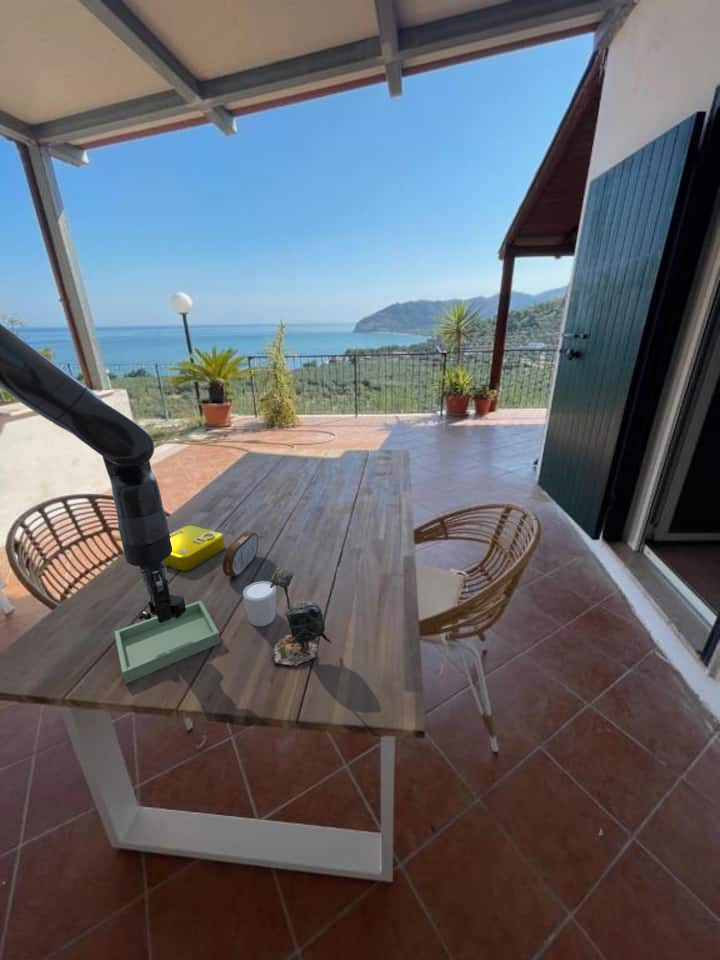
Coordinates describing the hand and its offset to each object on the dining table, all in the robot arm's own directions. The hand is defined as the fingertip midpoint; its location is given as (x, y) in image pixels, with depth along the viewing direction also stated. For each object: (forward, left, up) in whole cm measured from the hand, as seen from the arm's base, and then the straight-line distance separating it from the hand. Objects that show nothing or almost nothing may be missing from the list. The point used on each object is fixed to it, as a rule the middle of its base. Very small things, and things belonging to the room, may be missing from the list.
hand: (161, 611), depth 74 cm
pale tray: (0, 0, -8) cm, 8 cm away
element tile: (+12, +34, -8) cm, 37 cm away
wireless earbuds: (0, 0, -1) cm, 1 cm away
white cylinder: (+18, -4, -8) cm, 20 cm away
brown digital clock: (+22, +18, -8) cm, 30 cm away
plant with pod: (+20, -18, -8) cm, 28 cm away
